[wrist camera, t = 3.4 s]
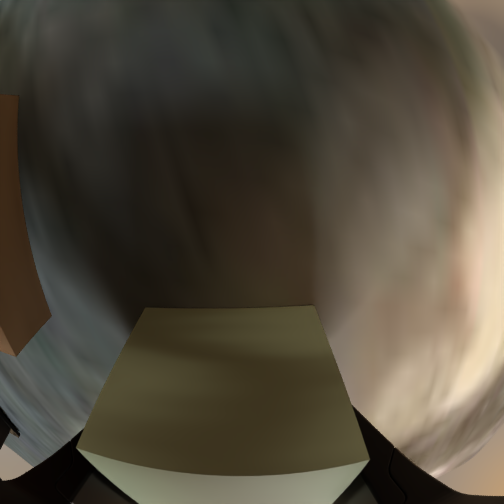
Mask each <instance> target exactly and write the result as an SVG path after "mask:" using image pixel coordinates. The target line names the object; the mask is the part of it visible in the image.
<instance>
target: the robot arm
mask: <svg viewBox="0 0 504 504" xmlns="http://www.w3.org/2000/svg"><path fill="white" fill-rule="evenodd" d="M351 405H352V404H351ZM352 407H353V410H354V413H355V416H356V419H357V422H358V425H359V428H360V431H361V434H362V437H363V440H364V443H365V446H366V449H367V452H368V455H369V458H370V460H369V462H368V463H367V464H366V465H365V467H364V468H363V469H362V470H361V472H360V473H359V474H358V475H357V477H356V478H355V479H354V480H353V481H352V482H351V484H350V485H349V486H348V487H347V488H346V489H345V490H344V492H343V493H342V494H341V495H340V496H339V497H338V498H337V499H336V500H335V501H334V502H333V503H332V504H504V496H479V495H468V494H463V493H460V492H457V491H454V490H453V489H451V488H449V487H448V486H446V485H445V484H443V483H442V482H440V481H438V480H437V479H435V478H434V477H432V476H431V475H429V474H428V473H426V472H425V471H424V470H422V469H421V468H419V467H418V466H417V465H415V464H414V463H413V462H412V461H410V460H409V459H408V458H407V457H406V456H405V455H404V454H402V453H401V452H400V451H399V450H398V449H397V448H396V447H395V448H394V445H393V444H392V443H391V442H390V441H389V440H387V439H386V438H385V437H384V436H383V435H382V434H381V433H380V432H379V431H378V430H377V429H376V428H375V427H374V426H373V425H372V424H371V423H370V422H369V421H368V420H367V419H366V418H365V417H364V416H363V415H362V414H361V413H360V412H359V411H358V410H357V409H356V408H355V407H354V406H353V405H352ZM83 430H84V429H83ZM83 430H81V431H80V432H79V433H78V434H77V435H76V436H75V437H73V438H72V439H71V441H69V442H68V443H66V444H65V445H64V446H63V447H62V448H61V449H59V450H58V451H57V452H56V453H54V454H53V455H52V456H50V457H49V458H47V459H46V460H45V461H43V462H42V463H40V464H39V465H37V466H35V467H34V468H32V469H31V470H29V471H28V472H26V473H25V474H23V475H21V476H19V477H18V478H15V479H12V480H7V481H2V479H1V478H0V504H139V503H137V502H136V501H135V500H133V499H132V498H131V497H130V496H128V495H127V494H126V493H124V492H123V491H122V490H121V489H119V488H118V487H117V486H116V485H115V484H113V483H112V482H111V481H110V480H109V479H108V478H107V477H105V476H104V475H103V474H102V473H101V472H100V471H99V470H98V469H97V468H96V467H95V466H93V465H92V464H91V463H90V462H89V461H88V460H87V459H86V458H85V457H84V456H83V455H82V454H81V453H80V452H79V450H78V449H77V448H76V446H77V444H78V442H79V439H80V437H81V435H82V432H83ZM9 432H10V433H11V434H13V435H15V436H17V437H18V438H19V436H20V433H19V432H18V431H17V430H16V429H15V428H14V426H13V425H12V424H11V423H10V422H9V421H8V419H7V418H6V417H5V416H4V415H3V413H2V412H1V411H0V449H1V447H2V445H3V444H4V442H5V440H6V438H7V436H8V434H9Z"/></svg>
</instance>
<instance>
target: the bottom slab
mask: <svg viewBox="0 0 504 504" xmlns="http://www.w3.org/2000/svg"><path fill="white" fill-rule="evenodd" d="M18 102H19V96H17V95H4V94H0V351H2V352H4V353H7V354H10V355H12V356H15V357H16V356H17V355H18V354H19V353H20V351H21V350H22V349H23V348H24V347H25V345H26V344H27V343H28V342H29V341H30V340H31V338H32V337H33V336H34V335H35V334H36V333H37V332H38V330H39V329H40V328H41V327H42V326H43V325H44V324H45V323H46V322H47V320H48V319H49V318H50V317H51V316H52V315H51V313H50V310H49V307H48V304H47V302H46V299H45V296H44V293H43V290H42V287H41V284H40V280H39V277H38V274H37V270H36V266H35V263H34V259H33V255H32V251H31V247H30V242H29V238H28V233H27V228H26V223H25V217H24V211H23V205H22V197H21V189H20V180H19V168H18V147H17V123H18Z"/></svg>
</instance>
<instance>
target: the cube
mask: <svg viewBox="0 0 504 504" xmlns="http://www.w3.org/2000/svg"><path fill="white" fill-rule="evenodd" d="M76 448H77V449H78V450H79V452H80V453H81V454H82V455H83V456H84V457H85V458H86V459H87V460H88V461H89V462H90V463H91V464H92V465H93V466H95V467H96V468H97V469H98V470H99V471H100V472H101V473H102V474H103V475H104V476H105V477H107V478H108V479H109V480H110V481H111V482H112V483H113V484H115V485H116V486H117V487H118V488H119V489H121V490H122V491H123V492H124V493H126V494H127V495H128V496H130V497H131V498H132V499H133V500H135V501H136V502H137V503H139V504H332V503H333V502H334V501H335V500H336V499H337V498H338V497H339V496H340V495H341V494H342V493H343V492H344V490H345V489H346V488H347V487H348V486H349V485H350V484H351V482H352V481H353V480H354V479H355V478H356V477H357V475H358V474H359V473H360V472H361V470H362V469H363V468H364V467H365V465H366V464H367V463H368V462H369V460H370V458H369V455H368V452H367V449H366V446H365V443H364V440H363V437H362V434H361V431H360V428H359V425H358V422H357V419H356V416H355V413H354V410H353V407H352V405H351V402H350V399H349V396H348V393H347V391H346V388H345V385H344V382H343V379H342V377H341V374H340V371H339V369H338V366H337V363H336V361H335V358H334V355H333V353H332V350H331V347H330V345H329V342H328V340H327V337H326V334H325V332H324V329H323V327H322V324H321V322H320V319H319V317H318V314H317V312H316V309H315V307H314V305H309V306H290V307H265V308H146V307H145V309H144V311H143V313H142V314H141V316H140V318H139V320H138V322H137V323H136V325H135V327H134V329H133V331H132V332H131V334H130V336H129V338H128V340H127V342H126V344H125V345H124V347H123V349H122V351H121V353H120V355H119V357H118V359H117V361H116V363H115V365H114V367H113V369H112V371H111V372H110V374H109V376H108V378H107V381H106V383H105V385H104V387H103V389H102V391H101V393H100V395H99V397H98V399H97V401H96V403H95V406H94V408H93V410H92V412H91V414H90V416H89V419H88V421H87V423H86V425H85V428H84V430H83V432H82V435H81V437H80V439H79V442H78V444H77V446H76Z"/></svg>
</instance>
